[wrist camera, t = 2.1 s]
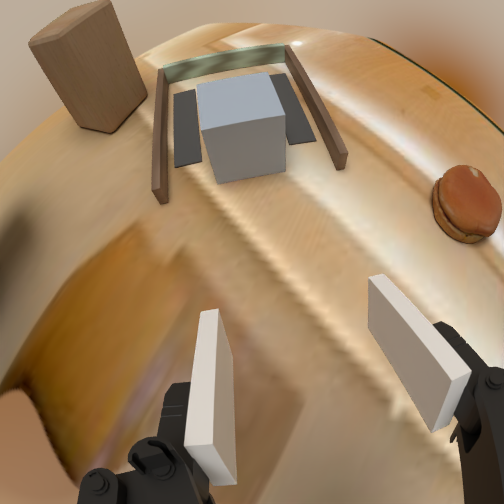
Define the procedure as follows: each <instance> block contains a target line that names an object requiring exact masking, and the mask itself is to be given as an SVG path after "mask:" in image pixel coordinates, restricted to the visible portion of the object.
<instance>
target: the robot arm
mask: <svg viewBox="0 0 504 504" xmlns="http://www.w3.org/2000/svg"><path fill="white" fill-rule="evenodd" d="M368 329H369V330H370V332H371V333H372V335H373V336H374V338H375V340H376V341H377V343H378V344H379V346H380V348H381V349H382V351H383V352H384V354H385V356H386V357H387V359H388V360H389V362H390V364H391V365H392V367H393V369H394V370H395V372H396V374H397V375H398V377H399V378H400V380H401V382H402V383H403V385H404V387H405V389H406V390H407V392H408V394H409V395H410V397H411V399H412V400H413V402H414V404H415V406H416V407H417V409H418V411H419V413H420V414H421V416H422V418H423V420H424V421H425V423H426V425H427V427H428V428H429V430H430V432H431V433H433V432H435V431H437V430H439V429H441V428H443V427H445V426H447V425H449V424H450V422H451V420H452V417H453V415H454V416H455V417H456V419H457V420H458V424H457V426H456V427H455V429H454V431H453V433H452V435H451V437H450V443H453V441H454V439H455V437H456V436H457V441H456V442H458V447H459V454H460V461H461V469H462V479H463V489H464V504H504V369H502V368H499V367H488V366H487V364H486V363H485V362H484V361H483V360H482V359H481V358H480V357H479V355H478V354H477V353H476V352H475V351H474V350H473V349H472V348H471V347H470V345H469V344H468V343H467V344H466V341H465V340H464V339H463V338H462V337H460V335H459V334H458V333H457V331H456V330H455V329H454V328H453V327H451V326H449V325H447V324H446V323H444V322H442V321H441V322H438V323H435V324H433V325H432V324H431V323H430V322H429V321H428V320H427V319H426V317H425V316H424V315H423V314H422V313H421V312H420V311H419V310H418V309H417V308H416V307H415V306H414V305H413V303H412V302H411V301H410V300H409V299H408V298H407V297H406V296H405V295H404V294H403V293H402V292H401V291H400V290H399V289H398V288H397V287H396V286H395V285H394V284H393V283H392V282H391V281H390V279H389V278H388V277H387V276H386V275H385V274H384V273H383V274H379V275H375V276H371V277H368ZM128 462H129V463H130V464H131V465H132V466H133V467H134V468H135V469H136V470H134V471H130V472H125V473H121V474H116V475H115V474H114V473H113V472H111V471H110V470H109V469H104V468H97V469H93V470H91V471H89V472H88V473H87V474H86V475H85V476H84V477H83V480H82V482H81V485H80V491H79V496H78V502H77V504H215V501H214V499H213V497H212V495H211V494H210V493H209V481H210V482H211V483H212V485H213V486H223V485H235V484H237V471H236V447H235V419H234V384H233V356H232V353H231V349H230V346H229V343H228V339H227V336H226V333H225V329H224V326H223V322H222V319H221V316H220V312H219V309H213V310H208V311H202V312H201V314H200V321H199V328H198V335H197V342H196V349H195V356H194V364H193V371H192V379H191V382H183V383H174V384H172V385H171V386H170V388H169V389H168V391H167V392H166V394H165V397H164V402H163V408H162V412H161V418H160V423H159V428H158V433H157V437H147V438H144V439H142V440H140V441H138V442H137V443H136V444H135V445H134V446H132V448H131V450H130V452H129V454H128Z"/></svg>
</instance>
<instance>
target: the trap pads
mask: <svg viewBox="0 0 504 504" xmlns="http://www.w3.org/2000/svg"><path fill="white" fill-rule="evenodd" d="M269 77H270V79H271V81H272V84H273V86H274V88H275V91H276V93H277V95H278V98H279V100H280V103H281V105H282V108H283V110H284V113H285V134H286V137H287V139H288V142H289V145H293V144H300V143H307V142H314V141H316V138H315V136H314V133H313V131H312V129H311V127H310V124H309V122H308V120H307V118H306V116H305V113H304V111H303V109H302V107H301V105H300V103H299V101H298V98H297V96H296V94H295V92H294V90H293V88H292V86H291V84H290V82H289V80H288V78H287V76H286V74H285V73H283V74H275V75H269ZM199 162H202V156H201V147H200V137H199V126H198V116H197V104H196V93H195V89H193V90H189V91H184V92H181V93H177V94H174V165H175V168H178V167H182V166H186V165H190V164H194V163H199Z"/></svg>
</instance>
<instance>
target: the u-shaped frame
mask: <svg viewBox="0 0 504 504" xmlns="http://www.w3.org/2000/svg"><path fill="white" fill-rule="evenodd" d="M280 62H285V63H286V65H287V67H288V69H289V70H290V72H291V74H292V76H293V78H294V80H295V82H296V84H297V86H298V88H299V90H300V92H301V93H302V95H303V97H304V99H305V102H306V104H307V106H308V108H309V110H310V112H311V114H312V116H313V118H314V120H315V122H316V124H317V127H318V129H319V131H320V133H321V135H322V138H323V140H324V142H325V144H326V147H327V149H328V151H329V153H330V156H331V158H332V160H333V163H334V165H335V168H336V170H341V169H344V168H345V164H346V160H347V156H348V151H347V149H346V147H345V144H344V142H343V140H342V138H341V136H340V134H339V132H338V130H337V128H336V126H335V124H334V122H333V120H332V119H331V117H330V115H329V113H328V111H327V109H326V107H325V105H324V103H323V102H322V100H321V98H320V96H319V94H318V93H317V91H316V89H315V87H314V85H313V84H312V82H311V80H310V79H309V77H308V75H307V73H306V72H305V70H304V68H303V67H302V65H301V63H300V62H299V60H298V59H297V57H296V55H295V54H294V52H293V51H292V49H291V47H290V46H289V45H284V44H283V43H279V44H269V45H261V46H254V47H247V48H240V49H234V50H228V51H223V52H218V53H213V54H208V55H203V56H199V57H194V58H190V59H186V60H182V61H178V62H174V63H170V64H167V65H163V68H161V69H158V77H157V87H156V99H155V112H154V127H153V147H152V192H153V193H154V195H155V197H156V198H157V200H158V201H159V203H160V204H164V203H168V171H167V116H168V84H170V83H174V82H178V81H182V80H185V79H190V78H194V77H198V76H202V75H207V74H212V73H217V72H222V71H227V70H232V69H238V68H244V67H250V66H257V65H264V64H272V63H280Z"/></svg>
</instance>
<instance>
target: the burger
mask: <svg viewBox="0 0 504 504" xmlns="http://www.w3.org/2000/svg"><path fill="white" fill-rule="evenodd" d="M433 189H434V191H433V209H434V216H435V219H436V221H437V222H438V223H439V225H440V226H441V227H442V228H443V229H444V231H445V232H446V233H447V234H448V235H449V236H451V237H452V238H454V239H456V240H459V241H461V242H464V243H475V242H477V241H478V240H480V239H482V238H484V237H489V236H491V235H492V234H493V233H494V232H495V230H496V228H497V226H498V224H499V221H500V218H501V214H502V204H501V199H500V197H499V195H498V193H497V192H496V190H495V189H494V188H493V187H492V186H491V184H490V183H489V181H488V180H487V179H486V177H485V176H484V175H483V173H482V172H481V171H479V170H478V169H476V168H473V167H472V166H467V165H457V166H455V167H452V168H451V169H449V170H448V171H447V172H446V173H445V174H444V175H443V177H442V178H439V180H437V181H436V183H435V187H434V188H433Z"/></svg>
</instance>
